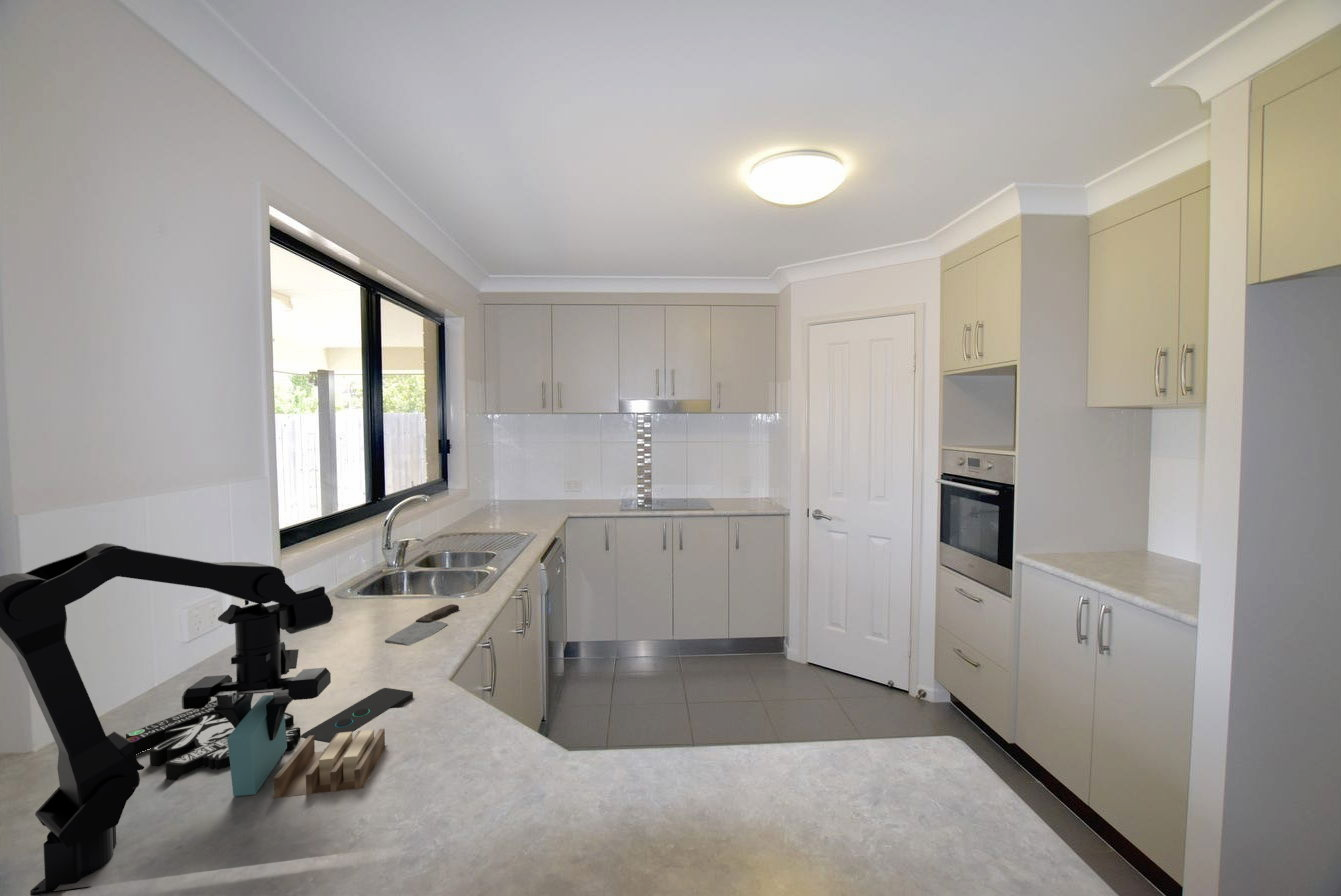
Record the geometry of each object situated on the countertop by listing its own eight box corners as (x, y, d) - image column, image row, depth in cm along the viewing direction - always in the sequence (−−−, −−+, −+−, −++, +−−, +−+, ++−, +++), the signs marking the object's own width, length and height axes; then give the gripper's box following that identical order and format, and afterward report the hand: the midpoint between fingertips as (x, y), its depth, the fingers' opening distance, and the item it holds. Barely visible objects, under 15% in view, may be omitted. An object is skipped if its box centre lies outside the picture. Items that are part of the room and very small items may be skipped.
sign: (235, 692, 115) (328, 726, 102) (236, 707, 115) (328, 742, 102) (111, 739, 98) (204, 785, 85) (112, 756, 98) (205, 805, 85)
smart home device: (297, 735, 102) (382, 686, 121) (298, 744, 102) (383, 694, 121) (334, 742, 99) (415, 691, 118) (334, 751, 99) (415, 699, 119)
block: (255, 794, 85) (250, 736, 83) (233, 796, 85) (227, 737, 83) (287, 747, 95) (282, 694, 93) (267, 748, 94) (262, 695, 93)
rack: (363, 794, 87) (362, 768, 87) (271, 804, 85) (270, 778, 84) (387, 750, 99) (387, 728, 99) (307, 758, 96) (306, 735, 96)
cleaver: (444, 609, 177) (444, 603, 177) (473, 611, 176) (472, 604, 176) (380, 646, 149) (380, 638, 148) (414, 648, 147) (414, 640, 147)
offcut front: (357, 781, 89) (356, 756, 88) (343, 782, 88) (342, 757, 88) (374, 752, 96) (373, 729, 96) (361, 753, 96) (361, 730, 96)
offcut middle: (333, 783, 88) (333, 758, 88) (319, 785, 88) (319, 759, 87) (352, 754, 96) (352, 731, 96) (339, 755, 95) (339, 732, 95)
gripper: (342, 622, 99) (344, 710, 99) (222, 629, 95) (224, 720, 96) (314, 646, 88) (317, 744, 88) (177, 655, 84) (181, 758, 85)
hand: (261, 740), depth 89 cm, fingers closed on block, 3 cm apart
